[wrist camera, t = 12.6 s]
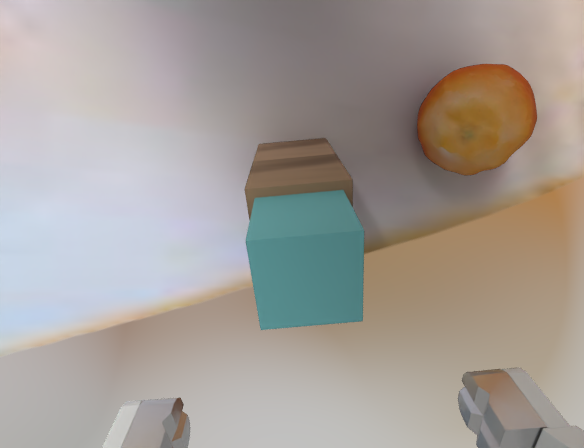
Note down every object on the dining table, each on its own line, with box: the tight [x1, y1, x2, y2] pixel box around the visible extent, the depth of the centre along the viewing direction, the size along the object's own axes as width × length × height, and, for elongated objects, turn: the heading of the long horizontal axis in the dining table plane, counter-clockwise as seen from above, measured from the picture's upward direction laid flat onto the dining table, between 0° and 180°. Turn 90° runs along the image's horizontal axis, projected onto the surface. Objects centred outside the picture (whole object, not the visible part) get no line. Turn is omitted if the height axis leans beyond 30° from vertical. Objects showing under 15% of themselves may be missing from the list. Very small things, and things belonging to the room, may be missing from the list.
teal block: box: [246, 190, 364, 330], centre depth 17 cm, size 5×5×5 cm
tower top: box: [245, 154, 353, 220], centre depth 22 cm, size 6×6×6 cm
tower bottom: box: [254, 138, 336, 161], centre depth 27 cm, size 6×6×6 cm
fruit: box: [417, 64, 537, 175], centre depth 25 cm, size 8×8×8 cm
